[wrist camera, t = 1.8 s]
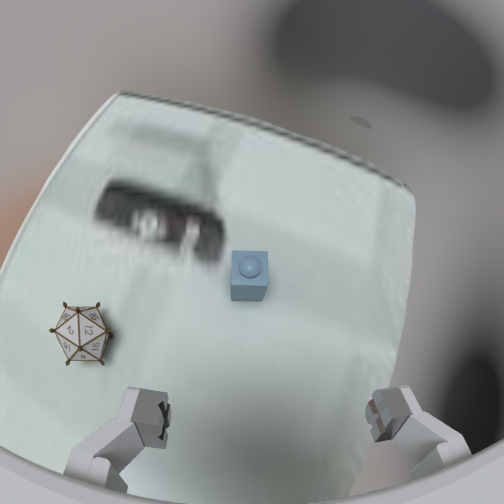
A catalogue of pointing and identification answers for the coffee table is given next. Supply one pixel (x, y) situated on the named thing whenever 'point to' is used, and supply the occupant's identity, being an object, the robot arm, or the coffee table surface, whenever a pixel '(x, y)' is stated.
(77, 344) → the twenty-sided die
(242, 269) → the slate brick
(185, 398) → the coffee table surface
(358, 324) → the coffee table surface
